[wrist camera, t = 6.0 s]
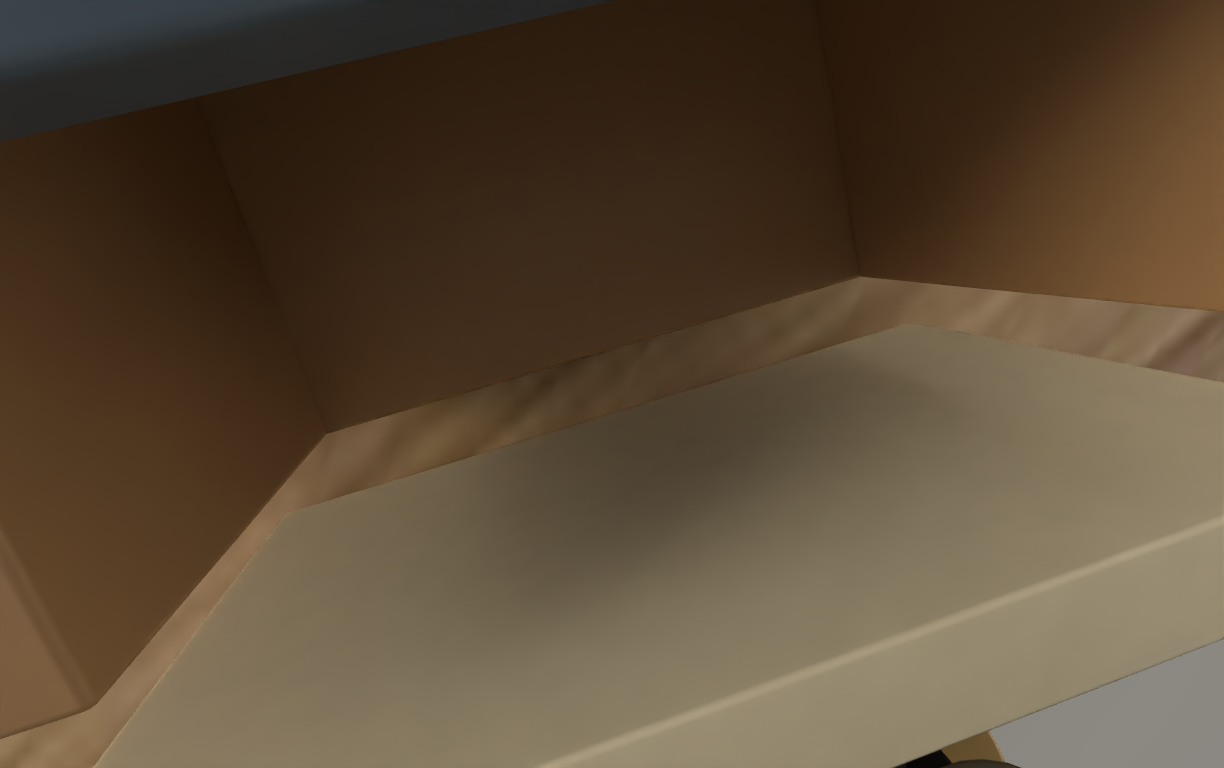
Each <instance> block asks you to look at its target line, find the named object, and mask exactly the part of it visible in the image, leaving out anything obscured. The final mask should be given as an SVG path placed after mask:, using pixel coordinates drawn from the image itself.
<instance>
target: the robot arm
mask: <svg viewBox="0 0 1224 768" xmlns="http://www.w3.org/2000/svg"><path fill="white" fill-rule="evenodd" d="M894 768H1020V767H1017V766H1015V765H1012V764H1010V763H1006V762H1000V761H993V760H986V759H975V760H963V761H958V762H955V763H952V762H951V761H950V760H949V758H948V757H947V756H946V755H945V754H944V753H943V752H942V750H941V749H940V750H938V751H935V752H933V753H930V754H928V755H925V756H923V757H920V758H917V759H915V760H912V761H910V762H907V763H905V764H902V765H900V766H897V767H894Z"/></svg>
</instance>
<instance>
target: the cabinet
mask: <svg viewBox="0 0 1224 768" xmlns="http://www.w3.org/2000/svg"><path fill="white" fill-rule="evenodd" d="M610 1H614V0H0V142H3V141H8V140H12V139H16V138H21V137H25V136H29V135H34V134H38V133H42V132H47V131H51V130H55V129H60V128H64V127H68V126H73V125H77V124H81V123H86V122H90V121H94V120H99V119H103V118H107V117H112V116H116V115H120V114H125V113H129V112H133V111H138V110H142V109H146V108H151V107H155V106H159V105H164V104H168V103H172V102H177V101H181V100H185V99H190V98H194V97H198V96H203V95H207V94H211V93H216V92H220V91H224V90H229V89H233V88H237V87H242V86H246V85H250V84H255V83H259V82H263V81H268V80H272V79H276V78H281V77H285V76H289V75H294V74H298V73H302V72H307V71H311V70H315V69H320V68H324V67H328V66H333V65H337V64H341V63H346V62H350V61H354V60H359V59H363V58H367V57H372V56H376V55H380V54H385V53H389V52H393V51H398V50H402V49H406V48H411V47H415V46H419V45H424V44H428V43H432V42H437V41H441V40H445V39H450V38H454V37H458V36H463V35H467V34H471V33H476V32H480V31H484V30H489V29H493V28H497V27H502V26H506V25H510V24H515V23H519V22H523V21H528V20H532V19H536V18H541V17H545V16H549V15H554V14H558V13H562V12H567V11H571V10H575V9H580V8H584V7H588V6H593V5H597V4H601V3H606V2H610Z"/></svg>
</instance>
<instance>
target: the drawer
mask: <svg viewBox="0 0 1224 768" xmlns="http://www.w3.org/2000/svg"><path fill="white" fill-rule="evenodd" d="M861 276H862V277H869V278H879V279H889V280H899V281H910V282H920V283H930V284H940V285H951V286H961V287H971V288H982V289H992V290H1002V291H1012V292H1023V293H1033V294H1043V295H1054V296H1064V297H1074V298H1084V299H1095V300H1105V301H1115V302H1126V303H1136V304H1146V305H1156V306H1167V307H1177V308H1187V309H1198V310H1208V311H1218V312H1224V0H614V1H610V2H606V3H601V4H597V5H593V6H588V7H584V8H580V9H575V10H571V11H567V12H562V13H558V14H554V15H549V16H545V17H541V18H536V19H532V20H528V21H523V22H519V23H515V24H510V25H506V26H502V27H497V28H493V29H489V30H484V31H480V32H476V33H471V34H467V35H463V36H458V37H454V38H450V39H445V40H441V41H437V42H432V43H428V44H424V45H419V46H415V47H411V48H406V49H402V50H398V51H393V52H389V53H385V54H380V55H376V56H372V57H367V58H363V59H359V60H354V61H350V62H346V63H341V64H337V65H333V66H328V67H324V68H320V69H315V70H311V71H307V72H302V73H298V74H294V75H289V76H285V77H281V78H276V79H272V80H268V81H263V82H259V83H255V84H250V85H246V86H242V87H237V88H233V89H229V90H224V91H220V92H216V93H211V94H207V95H203V96H198V97H194V98H190V99H185V100H181V101H177V102H172V103H168V104H164V105H159V106H155V107H151V108H146V109H142V110H138V111H133V112H129V113H125V114H120V115H116V116H112V117H107V118H103V119H99V120H94V121H90V122H86V123H81V124H77V125H73V126H68V127H64V128H60V129H55V130H51V131H47V132H42V133H38V134H34V135H29V136H25V137H21V138H16V139H12V140H8V141H3V142H0V739H2V738H5V737H8V736H11V735H14V734H17V733H20V732H23V731H27V730H30V729H33V728H36V727H39V726H42V725H45V724H48V723H51V722H54V721H57V720H60V719H63V718H66V717H69V716H72V715H75V714H78V713H81V712H84V711H86V710H88V709H90V708H91V707H93V706H94V705H95V704H97V703H98V701H99V700H100V699H101V698H102V697H103V696H104V694H105V693H106V692H107V691H108V690H109V688H110V687H111V686H112V685H113V684H114V683H115V681H116V680H117V679H118V678H119V677H120V676H121V674H122V673H123V672H124V671H125V670H126V668H127V667H128V666H129V665H130V664H131V663H132V661H133V660H134V659H135V658H136V657H137V656H138V654H139V653H140V652H141V651H142V650H143V649H144V647H145V646H146V645H147V644H148V643H149V641H150V640H151V639H152V638H153V637H154V636H155V634H156V633H157V632H158V631H159V630H160V629H161V627H162V626H163V625H164V624H165V623H166V621H167V620H168V619H169V618H170V617H171V616H172V614H173V613H174V612H175V611H176V610H177V609H178V607H179V606H180V605H181V604H182V603H183V601H184V600H185V599H186V598H187V597H188V596H189V594H190V593H191V592H192V591H193V590H194V589H195V587H196V586H197V585H198V584H199V583H200V582H201V580H202V579H203V578H204V577H205V576H206V574H207V573H208V572H209V571H210V570H211V569H212V567H213V566H214V565H215V564H216V563H217V562H218V560H219V559H220V558H221V557H222V556H223V554H224V553H225V552H226V551H227V550H228V549H229V547H230V546H231V545H232V544H233V543H234V542H235V540H236V539H237V538H238V537H239V536H240V534H241V533H242V532H243V531H244V530H245V529H246V527H247V526H248V525H249V524H250V523H251V522H252V520H253V519H254V518H255V517H256V516H257V515H258V513H259V512H260V511H261V510H262V509H263V507H264V506H265V505H266V504H267V503H268V502H269V500H270V499H271V498H272V497H273V496H274V495H275V493H276V492H277V491H278V490H279V489H280V487H281V486H282V485H283V484H284V483H285V482H286V480H287V479H288V478H289V477H290V476H291V475H292V473H293V472H294V471H295V470H296V469H297V467H298V466H299V465H300V464H301V463H302V462H303V460H304V459H305V458H306V457H307V456H308V455H309V453H310V452H311V451H312V450H313V449H314V448H315V446H316V445H317V444H318V443H319V442H320V440H321V439H322V438H323V437H324V436H325V435H326V434H327V433H330V432H334V431H337V430H341V429H344V428H347V427H351V426H354V425H358V424H361V423H364V422H368V421H371V420H375V419H378V418H381V417H385V416H388V415H392V414H395V413H398V412H402V411H405V410H409V409H412V408H415V407H419V406H422V405H426V404H429V403H432V402H436V401H439V400H443V399H446V398H449V397H453V396H456V395H460V394H463V393H466V392H470V391H473V390H477V389H480V388H483V387H487V386H490V385H494V384H497V383H500V382H504V381H507V380H511V379H514V378H517V377H521V376H524V375H528V374H531V373H534V372H538V371H541V370H545V369H548V368H551V367H555V366H558V365H562V364H565V363H568V362H572V361H575V360H579V359H582V358H585V357H589V356H592V355H595V354H599V353H602V352H606V351H609V350H612V349H616V348H619V347H623V346H626V345H629V344H633V343H636V342H640V341H643V340H646V339H650V338H653V337H657V336H660V335H663V334H667V333H670V332H674V331H677V330H680V329H684V328H687V327H691V326H694V325H697V324H701V323H704V322H708V321H711V320H714V319H718V318H721V317H725V316H728V315H731V314H735V313H738V312H742V311H745V310H748V309H752V308H755V307H759V306H762V305H765V304H769V303H772V302H776V301H779V300H782V299H786V298H789V297H793V296H796V295H799V294H803V293H806V292H810V291H813V290H816V289H820V288H823V287H827V286H830V285H833V284H837V283H840V282H844V281H847V280H850V279H854V278H857V277H861ZM1222 639H1224V383H1222V382H1217V381H1212V380H1206V379H1201V378H1196V377H1191V376H1186V375H1181V374H1175V373H1170V372H1165V371H1160V370H1155V369H1150V368H1144V367H1139V366H1134V365H1129V364H1124V363H1119V362H1113V361H1108V360H1103V359H1098V358H1093V357H1088V356H1083V355H1077V354H1072V353H1067V352H1062V351H1057V350H1052V349H1046V348H1041V347H1036V346H1031V345H1026V344H1021V343H1015V342H1010V341H1005V340H1000V339H995V338H990V337H985V336H979V335H974V334H969V333H964V332H959V331H954V330H948V329H943V328H938V327H933V326H928V325H923V324H917V323H912V322H910V323H907V324H903V325H900V326H897V327H893V328H890V329H887V330H884V331H880V332H877V333H874V334H871V335H867V336H864V337H861V338H857V339H854V340H851V341H848V342H844V343H841V344H838V345H835V346H831V347H828V348H825V349H822V350H818V351H815V352H812V353H808V354H805V355H802V356H799V357H795V358H792V359H789V360H786V361H782V362H779V363H776V364H772V365H769V366H766V367H763V368H759V369H756V370H753V371H750V372H746V373H743V374H740V375H737V376H733V377H730V378H727V379H723V380H720V381H717V382H714V383H710V384H707V385H704V386H701V387H697V388H694V389H691V390H687V391H684V392H681V393H678V394H674V395H671V396H668V397H665V398H661V399H658V400H655V401H652V402H648V403H645V404H642V405H638V406H635V407H632V408H629V409H625V410H622V411H619V412H616V413H612V414H609V415H606V416H603V417H599V418H596V419H593V420H589V421H586V422H583V423H580V424H576V425H573V426H570V427H567V428H563V429H560V430H557V431H553V432H550V433H547V434H544V435H540V436H537V437H534V438H531V439H527V440H524V441H521V442H518V443H514V444H511V445H508V446H504V447H501V448H498V449H495V450H491V451H488V452H485V453H482V454H478V455H475V456H472V457H468V458H465V459H462V460H459V461H455V462H452V463H449V464H446V465H442V466H439V467H436V468H433V469H429V470H426V471H423V472H419V473H416V474H413V475H410V476H406V477H403V478H400V479H397V480H393V481H390V482H387V483H383V484H380V485H377V486H374V487H370V488H367V489H364V490H361V491H357V492H354V493H351V494H348V495H344V496H341V497H338V498H334V499H331V500H328V501H325V502H321V503H318V504H315V505H312V506H308V507H305V508H302V509H298V510H295V511H292V512H289V513H286V514H284V515H283V516H282V518H281V519H280V520H279V522H278V523H277V524H276V526H275V527H274V528H273V530H272V531H271V532H270V534H269V535H268V536H267V538H266V539H265V540H264V542H263V543H262V544H261V546H260V547H259V548H258V550H257V551H256V552H255V554H254V555H253V556H252V557H251V559H250V560H249V561H248V563H247V564H246V565H245V567H244V568H243V569H242V571H241V572H240V573H239V575H238V576H237V577H236V579H235V580H234V581H233V583H232V584H231V585H230V587H229V588H228V589H227V591H226V592H225V593H224V595H223V596H222V597H221V599H220V600H219V601H218V603H217V604H216V605H215V607H214V608H213V609H212V611H211V612H210V613H209V614H208V616H207V617H206V618H205V620H204V621H203V622H202V624H201V625H200V626H199V628H198V629H197V630H196V632H195V633H194V634H193V636H192V637H191V638H190V640H189V641H188V642H187V644H186V645H185V646H184V648H183V649H182V650H181V652H180V653H179V654H178V656H177V657H176V658H175V660H174V661H173V662H172V664H171V665H170V666H169V668H168V669H167V670H166V672H165V673H164V674H163V675H162V677H161V678H160V679H159V681H158V682H157V683H156V685H155V686H154V687H153V689H152V690H151V691H150V693H149V694H148V695H147V697H146V698H145V699H144V701H143V702H142V703H141V705H140V706H139V707H138V709H137V710H136V711H135V713H134V714H133V715H132V717H131V718H130V719H129V721H128V722H127V723H126V725H125V726H124V727H123V729H122V730H121V731H120V733H119V734H118V735H117V736H116V738H115V739H114V740H113V742H112V743H111V744H110V746H109V747H108V748H107V750H106V751H105V752H104V754H103V755H102V756H101V758H100V759H99V760H98V762H97V763H96V764H95V766H94V767H93V768H894V767H897V766H900V765H902V764H905V763H907V762H910V761H912V760H915V759H917V758H920V757H923V756H925V755H928V754H930V753H933V752H935V751H938V750H940V749H941V750H942V752H943V753H944V754H945V755H946V756H947V757H948V758H949V760H950V761H951V762H952V763H955V762H958V761H963V760H975V759H986V760H993V761H1000V762H1005V761H1004V759H1003V756H1002V754H1001V752H1000V750H999V748H998V746H997V744H996V742H995V740H994V739H993V737H992V735H991V733H990V732H989V730H992V729H994V728H997V727H999V726H1002V725H1004V724H1007V723H1010V722H1012V721H1015V720H1017V719H1020V718H1022V717H1025V716H1027V715H1030V714H1033V713H1035V712H1038V711H1040V710H1043V709H1046V708H1048V707H1051V706H1053V705H1056V704H1058V703H1061V702H1063V701H1066V700H1069V699H1071V698H1074V697H1076V696H1079V695H1081V694H1084V693H1086V692H1089V691H1092V690H1094V689H1097V688H1099V687H1102V686H1104V685H1107V684H1109V683H1112V682H1115V681H1117V680H1120V679H1122V678H1125V677H1127V676H1130V675H1133V674H1135V673H1138V672H1140V671H1143V670H1145V669H1148V668H1151V667H1153V666H1156V665H1158V664H1161V663H1163V662H1166V661H1168V660H1171V659H1174V658H1176V657H1179V656H1181V655H1183V654H1186V653H1189V652H1191V651H1194V650H1196V649H1199V648H1202V647H1204V646H1207V645H1209V644H1212V643H1214V642H1217V641H1220V640H1222Z"/></svg>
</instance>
